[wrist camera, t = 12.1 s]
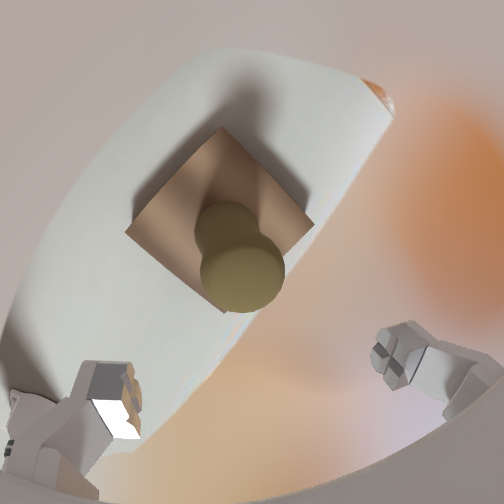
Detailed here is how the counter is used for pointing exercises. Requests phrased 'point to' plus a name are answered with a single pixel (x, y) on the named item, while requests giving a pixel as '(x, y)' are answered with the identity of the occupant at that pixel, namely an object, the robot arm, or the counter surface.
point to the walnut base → (210, 192)
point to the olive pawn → (237, 258)
